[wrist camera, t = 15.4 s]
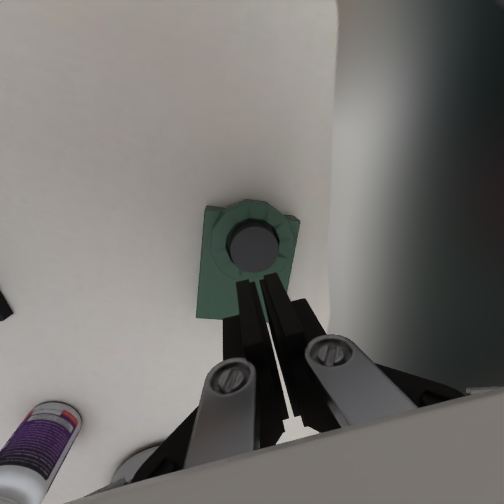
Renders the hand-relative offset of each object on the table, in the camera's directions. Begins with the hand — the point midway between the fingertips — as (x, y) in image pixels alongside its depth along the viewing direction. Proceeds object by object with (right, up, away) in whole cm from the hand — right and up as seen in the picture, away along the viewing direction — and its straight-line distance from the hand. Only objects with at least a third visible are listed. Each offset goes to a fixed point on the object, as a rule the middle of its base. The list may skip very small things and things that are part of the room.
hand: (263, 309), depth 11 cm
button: (0, +3, +11) cm, 11 cm away
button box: (-1, +1, +15) cm, 15 cm away
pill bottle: (-22, -16, +19) cm, 33 cm away
